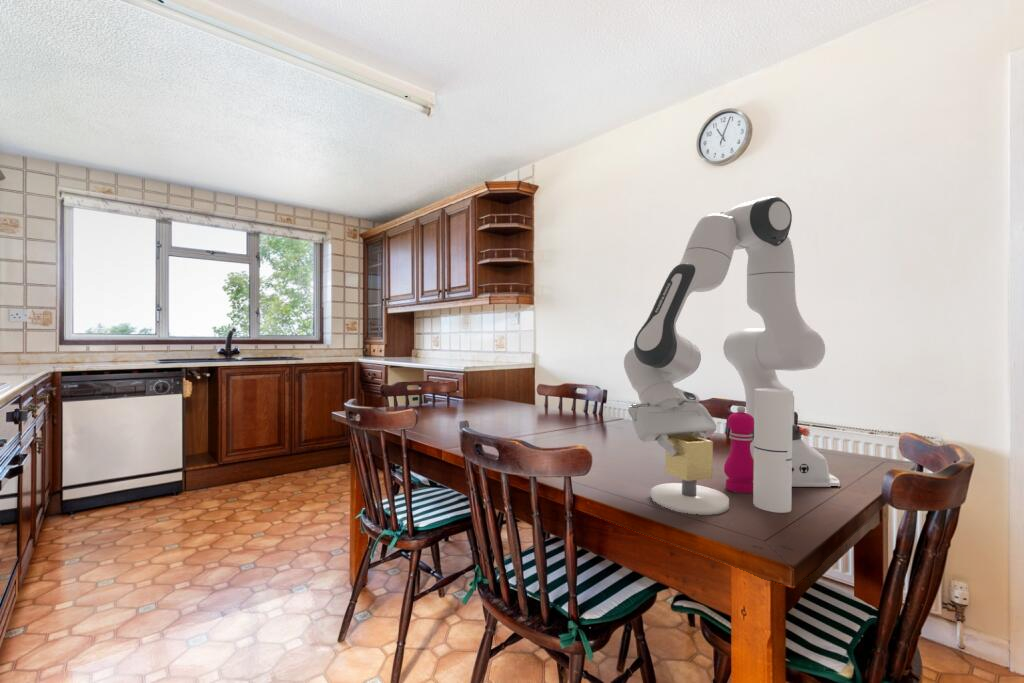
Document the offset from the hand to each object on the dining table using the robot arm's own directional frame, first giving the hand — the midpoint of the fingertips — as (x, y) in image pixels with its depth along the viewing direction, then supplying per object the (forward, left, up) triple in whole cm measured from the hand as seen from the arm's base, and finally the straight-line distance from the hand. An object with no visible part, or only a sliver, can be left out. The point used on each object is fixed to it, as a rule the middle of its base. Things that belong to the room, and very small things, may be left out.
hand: (690, 453), depth 101 cm
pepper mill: (-14, -12, -11) cm, 21 cm away
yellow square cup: (0, 0, -5) cm, 5 cm away
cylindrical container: (-17, -1, -11) cm, 20 cm away
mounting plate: (0, -1, -11) cm, 11 cm away
